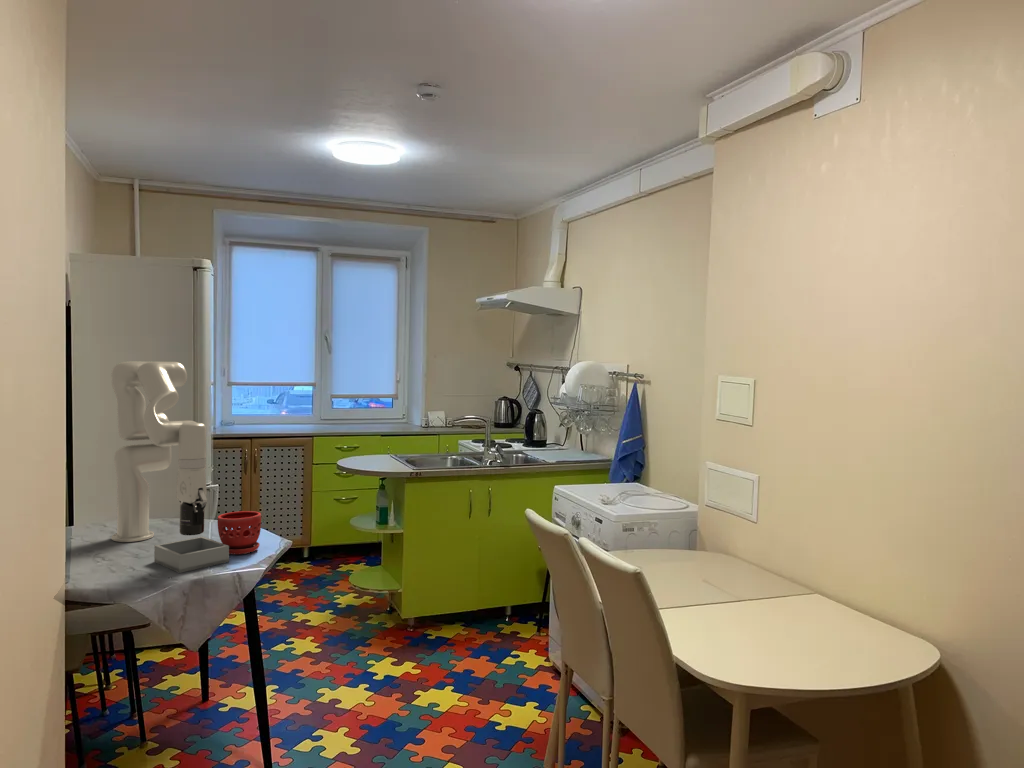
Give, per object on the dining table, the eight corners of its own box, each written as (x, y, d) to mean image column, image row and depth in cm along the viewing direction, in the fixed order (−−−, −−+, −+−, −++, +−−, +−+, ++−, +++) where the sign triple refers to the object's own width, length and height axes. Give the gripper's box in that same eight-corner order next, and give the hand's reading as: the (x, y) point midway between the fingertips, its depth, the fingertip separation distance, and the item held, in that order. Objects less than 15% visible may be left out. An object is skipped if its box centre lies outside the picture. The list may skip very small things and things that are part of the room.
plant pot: (267, 546, 232) (267, 510, 232) (251, 557, 219) (251, 519, 218) (228, 545, 232) (228, 509, 232) (209, 556, 219) (210, 518, 219)
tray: (154, 561, 212) (154, 545, 212) (202, 552, 223) (202, 536, 223) (179, 573, 202) (179, 555, 202) (228, 562, 213) (229, 545, 213)
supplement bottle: (179, 536, 208) (179, 496, 207) (179, 531, 214) (180, 492, 214) (204, 534, 210) (204, 494, 210) (204, 529, 217) (204, 491, 216)
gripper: (166, 462, 214) (166, 520, 215) (194, 468, 203) (194, 529, 204) (190, 459, 220) (190, 516, 221) (219, 465, 209) (218, 525, 210)
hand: (192, 522), depth 212 cm, fingers closed on supplement bottle, 6 cm apart
